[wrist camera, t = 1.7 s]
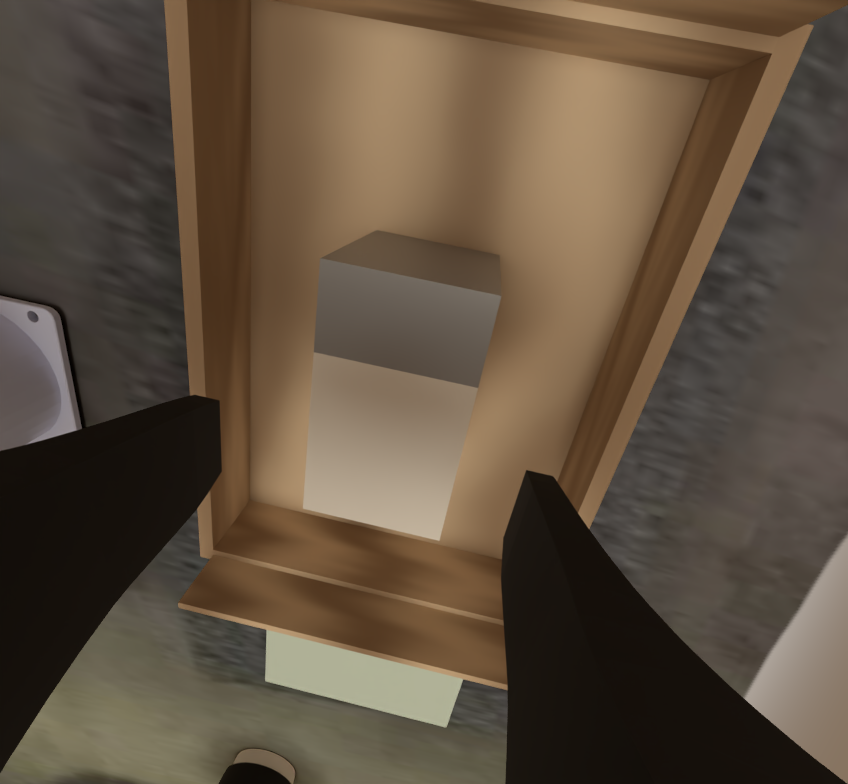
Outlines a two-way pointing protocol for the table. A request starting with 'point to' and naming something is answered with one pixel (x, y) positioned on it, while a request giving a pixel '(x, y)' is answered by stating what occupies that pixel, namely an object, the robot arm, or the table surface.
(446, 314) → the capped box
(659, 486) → the table surface
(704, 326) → the table surface
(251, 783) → the dixie cup
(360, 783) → the table surface
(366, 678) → the panel
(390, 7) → the wooden crate
